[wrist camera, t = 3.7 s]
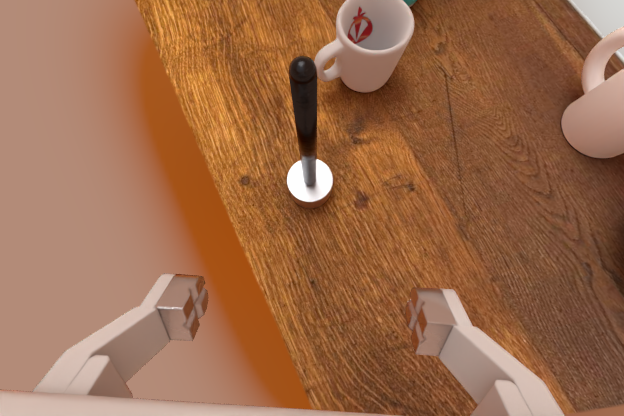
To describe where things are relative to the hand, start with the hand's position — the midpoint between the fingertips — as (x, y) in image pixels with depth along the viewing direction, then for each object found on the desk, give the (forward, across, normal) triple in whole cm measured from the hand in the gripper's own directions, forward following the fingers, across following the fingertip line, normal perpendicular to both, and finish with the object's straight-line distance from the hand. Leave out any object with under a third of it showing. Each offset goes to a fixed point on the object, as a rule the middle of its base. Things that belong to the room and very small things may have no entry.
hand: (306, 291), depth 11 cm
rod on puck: (+22, +1, +7) cm, 23 cm away
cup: (+32, -4, -3) cm, 33 cm away
